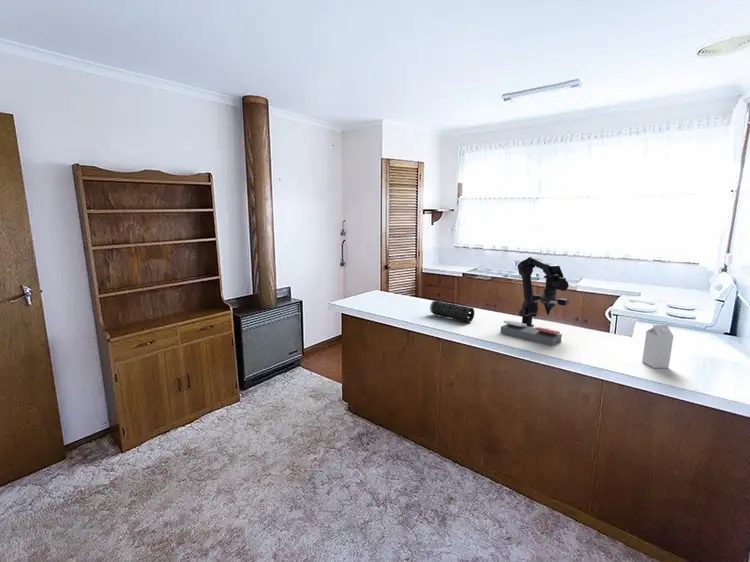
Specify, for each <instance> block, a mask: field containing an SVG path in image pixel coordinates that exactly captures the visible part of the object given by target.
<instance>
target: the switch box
mask: <svg viewBox="0 0 750 562" xmlns="http://www.w3.org/2000/svg"><path fill="white" fill-rule="evenodd" d="M501 333H502V335H505V334H506V336H509V335H510V336H511V337H514V338H518V339H522V340H526V341H529V342H530V341H531V342H535V343H538V344H542V345H545V346H551V347H553V346H555V345H557V344H559V343H560V342H562V337H563V335H562V333H559V334H552V333H548V332H543V331H539V330H535V327H534V326H532V327H529V326H523V327H520V326H515V325H511V324H507V323H505V324H504V325H501V326H500V334H501Z"/></svg>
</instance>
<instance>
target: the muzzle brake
mask: <svg viewBox="0 0 750 562" xmlns="http://www.w3.org/2000/svg"><path fill="white" fill-rule="evenodd" d="M429 311H430V313H431V314H433V315H435V316H443V317H446V318H449V319H452V320H453V319H454V320H456V321H458V320H459V321H458V322H462V321H463V323H467V324H468V323H469V324H471V322H473V320H474V317H475V309H474V307H471V306H464V305H460V304H455V303H450V302H445V301H442V300H433V301H431V303H430V306H429ZM443 317H442V318H443Z"/></svg>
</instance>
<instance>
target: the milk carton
mask: <svg viewBox="0 0 750 562" xmlns="http://www.w3.org/2000/svg"><path fill="white" fill-rule="evenodd" d="M652 326H653V327H652V328H650V329H648V330H646V331H645V340H644V345H643V346H644V347H643V353H642V360H641V362H642V363H643V364H645V365H646V366H649V367H651V368H654V369H668V368H669V366H670V361H671V355H672V350H673V349H672V347H673V343H674V342H673V341H674V334H673V332H672V331H671V329H670V328H669V324H654V325H652Z"/></svg>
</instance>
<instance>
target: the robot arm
mask: <svg viewBox="0 0 750 562" xmlns="http://www.w3.org/2000/svg"><path fill="white" fill-rule="evenodd" d="M535 267H536V268H539V269H541V270H542V272H543V273H544V274H545V275H544V276H543V279H545V287H544V289H543V292H542V293H541V294H538V293H535V294H534V293H533V286H532V285H533V284H532V274H533V272H534V268H535ZM517 271H518V274H519V275H520V276H521V279H522V280H521V281H522V289H523V298H524V299H523V303H522V305H521V307H522V308H520V310H519V311H518V316H521V317H522V318H521V323H524V324H527V326H529V327H534V326H535V325H534V324H533V318H534V317H537V315H538V312H539V307H538V305H539V304H538V302H537V301H538V300H539V301H540V303H541V304H543V306H544V309H545V312H546V315H547V316H549V315H550V314H551V312H552V311H553V309H554V308H555V306H557V305H558V306H559V305H560V306H565V307H566V306H567V305H569V304H570V299H568V298H557V291H562V292H565V291H566V290H568V288H569V286H570V285H569V282H568V281H567V278H566V277H564V273H563V271H562V269H561V266H560V265H559V264H555V263H549V262H547V261H544V260H543V259H541V258H538V257H537V256H529V257H528V258H525V259H524V260H521V261H520V262H519V263H518V264H517Z"/></svg>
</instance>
